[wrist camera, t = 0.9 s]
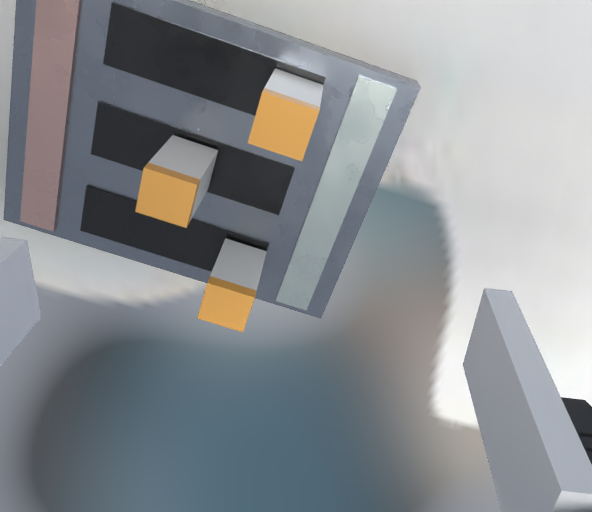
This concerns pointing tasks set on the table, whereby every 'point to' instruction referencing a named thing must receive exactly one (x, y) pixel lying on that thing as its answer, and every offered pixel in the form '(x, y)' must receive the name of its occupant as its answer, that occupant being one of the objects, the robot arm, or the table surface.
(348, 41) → the table surface
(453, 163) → the table surface
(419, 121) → the table surface
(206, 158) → the block
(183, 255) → the panel
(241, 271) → the breaker far
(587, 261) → the table surface
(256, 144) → the breaker near
